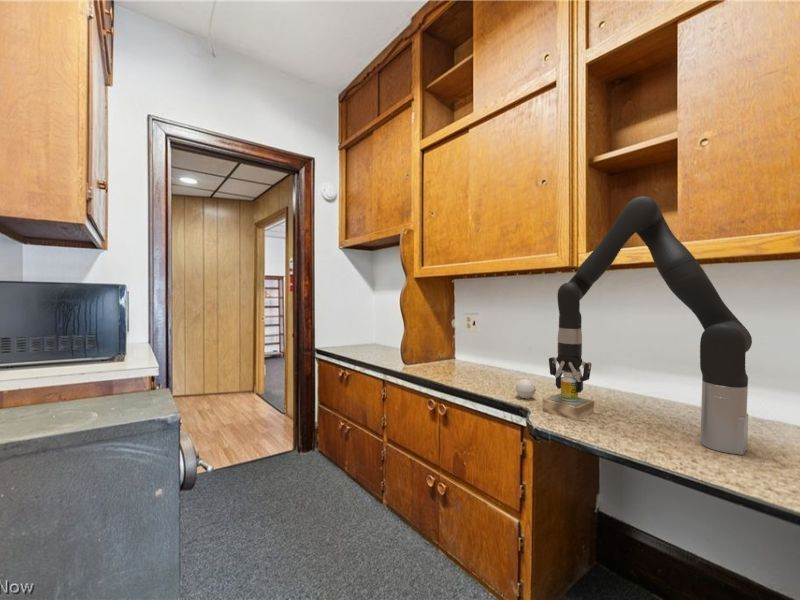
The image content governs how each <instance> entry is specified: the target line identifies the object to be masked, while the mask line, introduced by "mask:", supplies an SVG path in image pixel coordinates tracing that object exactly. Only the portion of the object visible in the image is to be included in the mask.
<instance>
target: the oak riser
mask: <svg viewBox="0 0 800 600" xmlns="http://www.w3.org/2000/svg"><path fill="white" fill-rule="evenodd" d="M544 411H545V412H544ZM542 412H544V413H549V414H553V415H555V416H559V417H563V418H567V419H571V420H574V421H579V420H582V419H584V418H586V417H589V416H590V415H593V414H594V413H595V400H592V399H588V398H587V399H586V398H582V397H579V396H578V400H577V401H574V402H570V401H565V400H562V399H561V392H560V393H557V394H555V395H552V396H549V397H545V398H543V399H542Z"/></svg>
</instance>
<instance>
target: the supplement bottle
mask: <svg viewBox="0 0 800 600" xmlns="http://www.w3.org/2000/svg"><path fill="white" fill-rule="evenodd" d="M561 377H562V378H561V388H560V393H561V399H562V400H565V401H570V402H574V401H577V400H578V397H579V393H577V392H576V382H577V379H576V377H575V376H574V374H573V372H570V371H563V374H562V376H561Z"/></svg>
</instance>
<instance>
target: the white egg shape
mask: <svg viewBox="0 0 800 600" xmlns="http://www.w3.org/2000/svg"><path fill="white" fill-rule="evenodd" d="M514 389H515V392H516V394H517V396H518V397H520V398H522V399H524V398H525V399H526V400H528V399H531V398H532V397H533V396H534V395H535V394H536V391H537V388H536V386H535V384H534V382H533V381H531V380H529V379H526V378H523V379H519V380H518V381H517V382H516V384H515V388H514Z"/></svg>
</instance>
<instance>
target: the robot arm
mask: <svg viewBox="0 0 800 600" xmlns="http://www.w3.org/2000/svg"><path fill="white" fill-rule="evenodd" d="M635 234H636V235H637V236H638V237H639V238H640V239H641V240H642V242H643V243H644V245H645V246H646V247H647V249H648V250H649V253H650V255H651V258H652V260H653V262H654V265H655V266H656V269H657V271H658V272H659V275H660V276H661V278H662V279H663V281H664V282H665V284H666V286H667V287H668V288H669V289H670V291H671V292H672V293H673V294H674V295H675V296H676V297H677V299H679V301H681V302H682V303H683V304H684V305H685V307H687V308H688V309H689V310H690V311H691V312H692V313H693V314H694V316H695V317H696V318H697V320H698V321H699V323H700V325H701V326H702V328H703V331H702V333H701V337H700V342H699V343H700V344H699V365H700V366H699V367H700V369H699V370H700V371H701V372H700V373H701V375H702V378H701V379H702V383H701V407H700V409H701V410H700V433H699V434H700V435H699V438H700V439H699V442H700V444H701V445H702V446H704V447H705V448H709V449H711V450H713V451H716V452H717V451H718V452H721V453H726V454H735V455H740V456H744V455H745V453H746V452H747V450H748V438H749V437H748V432H749V414H748V389H749V388H748V385H749V377H748V374H747V372H746V353H747V352H748V351H749V350H750V349H751V348H752V344H753V337H752V335H751V333H750V331H749V330H748V329H747V328H746V327H745V325H744V324H743V323H742V322H741V321H740V320H739V319H738V318H737V317H736V315H735V314H734V313H733V312H732V311H731V310H730V309H729V308H728V306H727V305H726V304H725V302H724V301H723V300H722V298H721V296H720V295H719V292H718V291H717V289H716V287H715V286H714V284H713V283H712V281H711V280H710V278H709V277H708V275H707V273H706V272H705V270H704V269H703V268H702V265H701V264H700V263H699V262H698V260H697V259H696V257H695V255H693V254H692V252H691V251H689V249H688V248H687V247H686V246H685V245H684V244H683V243H682V242H681V241H680V240H679V239H678V238H677V236H675V235H674V234H673V232H672V230H671V228H670V227H669V225H668V223H667V220H666V219H665V217H664V215H663V213H662V210H661V208H660V206H659V205H658V203H657V202H656V201H655V199H654V198H651V197H650V196H643V195H641V196H637V197H635V198H633V199H631V200H630V201H629V202H628V203H626V205H625V206H624V208H623V209H622V211H621V213H620V214H619V215H618V216H617V219H616V220H615V222H614V224H613V225H612V226H611V228H610V229H609V230H608V231H607V234H606V235H605V236H603V239H602V240H601V241H600V243H599V244H598V245H597V247H595V248H594V250H592V252H591V253H590V254H589V255H588V256H587V258H585V260H584V261H583V262H582V263H581V265H580V266H579V267H578V268H577V270H576V272H575V274H574V275H573V276H572V277H571V279H570V280H569V281H568V282H565V283H563V284H561V285H560V287H559V288H558V290H557V297H556V298H557V307H558V313H559V314H558V315H559V317H558V332H557V333H558V334H557V356H556V357H554V356H553V357H549V358H548V365H549V366H548V367H549V373H550V374H549V375H550V376H554V377H555V386H556V389H558V390H561V378H562V377H563V371H570V372H573V374H574V376H575V378H576V379H577V382H576V392H577V393H578V394H580V393H581V392H582V391H583V389H584V382H586V381H589V380H590V376H591V370H592V362H590V361H588V362H586V361H583V359H582V354H583V352H582V351H583V333H582V314H581V312H580V311H581V309H580V308H581V306H580V305H581V304H580V303H581V302H580V301H581V300H582V299H583V297H584V296H585V295H586V294H587V293H588V291H590V289H591V287H593V285H594V284H595V283H596V282H597V281H598V280H599V279H600V278H601V277H602V276H603V274H605V272H606V271H607V270H609V268H610V266H611V265H612V264H613V263H614V261H615V260H616V258H617V257H618V254H619V253H620V252H621V250H622V248H623V247H624V246H625V244H627V242H628V241H629V240H630V239H631V238H632V236H633V235H635ZM557 363H558V365H559V366H558V368H557ZM581 366H582V369H583V371H582V370H581ZM582 372H583V373H582Z"/></svg>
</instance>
